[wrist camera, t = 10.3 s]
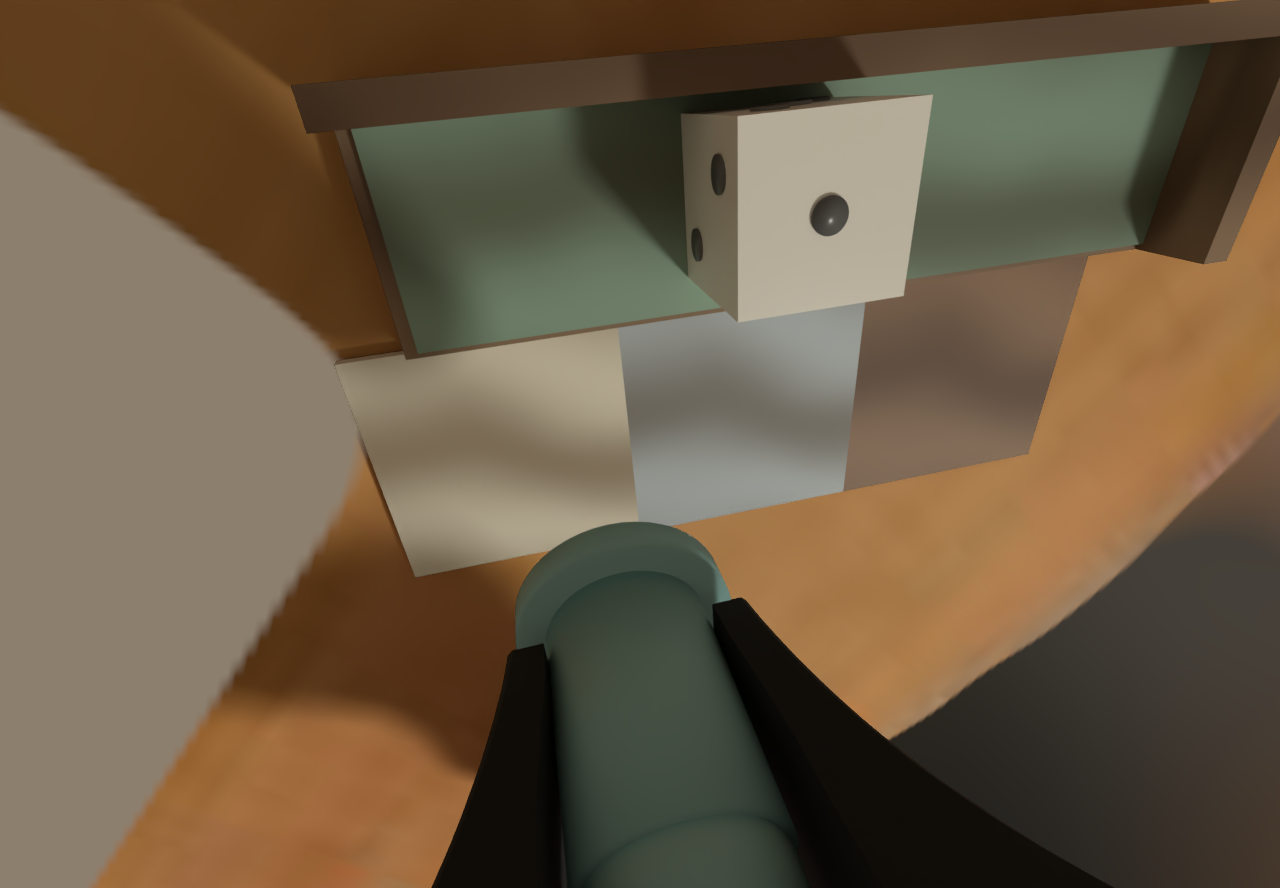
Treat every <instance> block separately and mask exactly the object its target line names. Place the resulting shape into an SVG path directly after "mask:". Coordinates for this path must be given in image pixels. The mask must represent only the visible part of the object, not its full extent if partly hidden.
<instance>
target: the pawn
mask: <svg viewBox="0 0 1280 888" xmlns="http://www.w3.org/2000/svg"><path fill="white" fill-rule="evenodd" d="M728 600H731V597H730V594H729V591H728V588H727V586H726V584H725V582H724V580H723V578H722V576H721V573H720V571H719V569H718V567H717V565H716V563H715V561H714V559H713V557H712V555H711V554H710V553H709V552H708V550H707V549H706V548H705V547H704V546H703V545H702V544H701V543H700V542H699V541H698V540H696V539H695V538H693V537H692V536H690V535H689V534H687V533H685V532H683V531H681V530H679V529H676V528H673V527H670V526H667V525H663V524H657V523H652V522H621V523H614V524H608V525H604V526H600V527H597V528H593V529H590V530H588V531H585V532H582V533H580V534H578V535H576V536H574V537H572V538H570V539H568V540H566V541H564V542H563V543H561V544H560V545H558V546H556V547H555V548H553V549H552V550H551V551H550V552H549V553H547V554H546V555H545V556H544V557H543V558H542V559H541V560H540V561H539V562H538V563H537V564H536V565H535V566H534V567H533V568H532V570H531V571H530V573H529V574H528V575H527V577H526V578H525V580H524V582H523V584H522V586H521V588H520V591H519V594H518V596H517V601H516V606H515V629H516V650H517V649H521V648H526V647H530V646H534V645H538V644H543V643H544V647H545V651H546V655H547V658H548V663H549V674H550V685H551V696H552V708H553V726H554V741H555V752H556V763H557V775H558V786H559V797H560V809H561V820H562V831H563V843H564V854H565V865H566V877H567V888H810V886H809V883H808V880H807V877H806V874H805V871H804V868H803V865H802V863H801V861H800V859H799V856H798V854H797V851H798V847H799V838H798V835H797V832H796V829H795V827H794V824H793V822H792V819H791V817H790V814H789V812H788V809H787V807H786V805H785V802H784V800H783V797H782V795H781V792H780V790H779V788H778V785H777V783H776V780H775V778H774V775H773V773H772V770H771V768H770V766H769V763H768V761H767V758H766V756H765V753H764V751H763V749H762V746H761V744H760V741H759V739H758V736H757V734H756V732H755V729H754V727H753V724H752V722H751V719H750V717H749V714H748V712H747V710H746V707H745V705H744V702H743V700H742V697H741V695H740V693H739V690H738V688H737V685H736V683H735V680H734V678H733V675H732V673H731V671H730V668H729V666H728V663H727V661H726V658H725V656H724V654H723V651H722V649H721V646H720V644H719V641H718V639H717V637H716V634H715V632H714V629H713V610H712V604H715V603H719V602H723V601H728Z"/></svg>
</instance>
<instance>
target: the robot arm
mask: <svg viewBox="0 0 1280 888" xmlns="http://www.w3.org/2000/svg"><path fill="white" fill-rule="evenodd" d="M712 610H713V629H714V632H715V634H716V637H717V639H718V641H719V644H720V646H721V649H722V651H723V654H724V656H725V658H726V661H727V663H728V666H729V668H730V671H731V673H732V675H733V678H734V680H735V683H736V685H737V688H738V690H739V693H740V695H741V697H742V700H743V702H744V705H745V707H746V710H747V712H748V714H749V717H750V719H751V722H752V724H753V727H754V729H755V732H756V734H757V736H758V739H759V741H760V744H761V746H762V749H763V751H764V753H765V756H766V758H767V761H768V763H769V766H770V768H771V770H772V773H773V775H774V778H775V780H776V783H777V785H778V788H779V790H780V792H781V795H782V797H783V800H784V802H785V805H786V807H787V809H788V812H789V814H790V817H791V819H792V822H793V824H794V827H795V829H796V832H797V835H798V838H799V847H798V851H797V854H798V856H799V859H800V861H801V863H802V865H803V868H804V871H805V874H806V877H807V880H808V883H809V886H810V888H1114V887H1112V886H1110V885H1108V884H1106V883H1105V882H1103V881H1101V880H1099V879H1097V878H1096V877H1094V876H1092V875H1090V874H1089V873H1087V872H1085V871H1083V870H1081V869H1080V868H1078V867H1076V866H1075V865H1073V864H1071V863H1069V862H1068V861H1066V860H1064V859H1062V858H1061V857H1059V856H1058V855H1056V854H1054V853H1052V852H1051V851H1049V850H1047V849H1046V848H1044V847H1042V846H1041V845H1039V844H1037V843H1036V842H1034V841H1033V840H1031V839H1029V838H1028V837H1026V836H1025V835H1023V834H1021V833H1020V832H1018V831H1017V830H1015V829H1013V828H1012V827H1010V826H1008V825H1007V824H1005V823H1004V822H1002V821H1000V820H999V819H998V818H996V817H995V816H993V815H992V814H990V813H989V812H987V811H986V810H984V809H983V808H981V807H980V806H978V805H977V804H975V803H974V802H972V801H971V800H969V799H968V798H966V797H965V796H964V795H962V794H960V793H959V792H958V791H956V790H955V789H953V788H952V787H950V786H949V785H947V784H946V783H944V782H943V781H941V780H940V779H939V778H937V777H936V776H935V775H933V774H932V773H930V772H929V771H928V770H926V769H925V768H924V767H922V766H921V765H920V764H918V763H917V762H916V761H914V760H913V759H912V758H910V757H909V756H908V755H907V754H905V753H904V752H903V751H901V750H900V749H899V748H898V747H896V746H895V745H894V744H892V743H891V742H890V741H889V740H887V739H886V738H885V737H884V736H883V735H881V734H880V733H879V732H878V731H876V730H875V729H874V728H873V727H872V726H870V725H869V724H868V723H867V722H866V721H865V720H863V719H862V718H861V717H860V716H859V715H858V714H857V713H855V712H854V711H853V710H852V709H851V708H850V707H849V706H848V705H846V704H845V703H844V702H843V701H842V700H841V699H840V698H839V697H837V696H836V695H835V694H834V693H833V692H832V691H831V690H830V689H829V688H828V687H827V686H826V685H825V684H824V683H823V682H822V681H820V680H819V679H818V678H817V677H816V676H815V675H814V674H813V673H812V672H811V671H810V670H809V669H808V668H807V667H806V666H805V665H804V664H803V663H802V662H801V661H800V660H799V659H798V658H797V657H796V656H795V655H794V654H793V653H792V652H791V651H790V650H789V649H788V647H787V646H786V645H785V644H784V643H783V642H782V641H781V640H780V639H779V638H778V637H777V636H776V635H775V634H774V632H773V631H772V630H771V629H770V628H769V627H768V626H767V625H766V623H765V622H764V621H763V620H762V619H761V618H760V617H759V615H758V614H757V613H756V612H755V611H754V610H753V608H752V607H751V606H750V605H749V603H748V602H747V601H746V600H744V599H743V598H736V599H732V600H728V601H723V602H719V603H715V604H712ZM432 888H567V877H566V865H565V854H564V843H563V831H562V820H561V809H560V797H559V786H558V775H557V763H556V752H555V741H554V726H553V708H552V696H551V685H550V674H549V663H548V658H547V655H546V651H545V647H544V643H543V644H538V645H534V646H530V647H526V648H521V649H517V650H513V651H512V652H511V653H510V654H509V655H508V657H507V664H506V670H505V675H504V680H503V685H502V689H501V694H500V698H499V702H498V706H497V709H496V713H495V717H494V721H493V724H492V727H491V731H490V734H489V737H488V741H487V744H486V747H485V750H484V754H483V757H482V760H481V763H480V766H479V769H478V772H477V775H476V778H475V780H474V783H473V786H472V789H471V791H470V794H469V797H468V800H467V802H466V805H465V808H464V811H463V813H462V816H461V819H460V821H459V824H458V826H457V829H456V831H455V834H454V836H453V839H452V841H451V844H450V846H449V849H448V851H447V853H446V856H445V858H444V860H443V863H442V865H441V867H440V870H439V872H438V874H437V876H436V879H435V881H434V883H433V885H432Z"/></svg>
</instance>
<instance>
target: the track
mask: <svg viewBox="0 0 1280 888" xmlns="http://www.w3.org/2000/svg"><path fill="white" fill-rule="evenodd" d="M1087 259H1088V256H1085V257H1078V258H1071V259H1065V260H1058V261H1052V262H1045V263H1039V264H1032V265H1026V266H1019V267H1013V268H1006V269H1000V270H993V271H986V272H980V273H973V274H967V275H960V276H954V277H947V278H941V279H934V280H928V281H921V282H914V283H908V284H905V289H904V296H901V297H895V298H888V299H882V300H876V301H870V302H863V303H857V304H851V305H845V306H838V307H832V308H826V309H820V310H813V311H807V312H801V313H795V314H788V315H782V316H776V317H770V318H763V319H757V320H751V321H745V322H737V321H736V320H735V319H733V318H732V317H731V316H730V315H729V314H728V313H727V312H726V311H725V312H718V313H712V314H705V315H699V316H692V317H686V318H679V319H672V320H666V321H659V322H653V323H646V324H640V325H633V326H627V327H620V328H614V329H607V330H601V331H594V332H587V333H581V334H574V335H568V336H561V337H555V338H548V339H542V340H535V341H529V342H522V343H516V344H509V345H502V346H496V347H489V348H483V349H476V350H470V351H463V352H457V353H450V354H444V355H437V356H430V357H424V358H417V359H411V360H406V359H405V356H404V352H403V351H399V352H392V353H386V354H379V355H373V356H366V357H359V358H353V359H346V360H339V361H336V363H335V364H334V366H335V369H336V371H337V374H338V377H339V379H340V382H341V384H342V387H343V389H344V392H345V395H346V397H347V400H348V403H349V405H350V408H351V411H352V413H353V416H354V418H355V421H356V424H357V426H358V429H359V431H360V434H361V437H362V439H363V442H364V445H365V447H366V450H367V452H368V455H369V458H370V460H371V463H372V465H373V468H374V471H375V473H376V476H377V479H378V481H379V484H380V486H381V489H382V492H383V494H384V497H385V499H386V502H387V505H388V507H389V510H390V513H391V515H392V518H393V520H394V523H395V526H396V528H397V531H398V533H399V536H400V539H401V541H402V544H403V547H404V549H405V552H406V554H407V557H408V560H409V562H410V565H411V568H412V570H413V573H414V575H415V578H416V577H420V576H425V575H430V574H435V573H440V572H445V571H450V570H455V569H460V568H465V567H470V566H475V565H480V564H485V563H490V562H495V561H500V560H505V559H510V558H515V557H520V556H525V555H530V554H535V553H539V552H544V551H549V550H552V549H553V548H555V547H556V546H558V545H560V544H561V543H563V542H564V541H566V540H568V539H570V538H572V537H574V536H576V535H578V534H580V533H582V532H585V531H588V530H590V529H593V528H597V527H600V526H604V525H608V524H614V523H621V522H652V523H657V524H663V525H667V526H673V525H678V524H683V523H688V522H693V521H698V520H703V519H708V518H713V517H718V516H723V515H728V514H733V513H738V512H743V511H748V510H753V509H758V508H763V507H768V506H773V505H777V504H782V503H787V502H792V501H797V500H802V499H807V498H812V497H817V496H822V495H827V494H832V493H837V492H842V491H847V490H852V489H857V488H862V487H867V486H872V485H877V484H882V483H887V482H892V481H896V480H901V479H906V478H911V477H916V476H921V475H926V474H931V473H936V472H941V471H946V470H951V469H956V468H961V467H966V466H971V465H976V464H981V463H986V462H991V461H996V460H1001V459H1006V458H1011V457H1015V456H1020V455H1025V454H1028V452H1029V449H1030V446H1031V442H1032V439H1033V436H1034V432H1035V429H1036V426H1037V423H1038V419H1039V416H1040V413H1041V410H1042V406H1043V403H1044V400H1045V396H1046V393H1047V390H1048V387H1049V383H1050V380H1051V377H1052V373H1053V370H1054V367H1055V364H1056V360H1057V357H1058V354H1059V350H1060V347H1061V344H1062V341H1063V337H1064V334H1065V331H1066V328H1067V324H1068V321H1069V318H1070V314H1071V311H1072V308H1073V305H1074V301H1075V298H1076V295H1077V291H1078V288H1079V285H1080V282H1081V278H1082V275H1083V272H1084V269H1085V265H1086V262H1087Z"/></svg>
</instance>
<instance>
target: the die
mask: <svg viewBox="0 0 1280 888" xmlns="http://www.w3.org/2000/svg"><path fill="white" fill-rule="evenodd" d="M932 99H933V94H931V95H889V96H846V97H831V96H819V97H808V98H799V99H795V101H785V102H777V103H772V104H763V105H754V106H745V107H736V108H727V109H717V110H708V111H699V112H690V113H681V129H682V151H683V173H684V195H685V217H686V239H687V261H688V278H689V279H691V280H692V281H693V282H694V283H695V284H696V285H697V286H698V287H699V288H700V289H702V290H703V291H704V292H705V293H706V294H707V295H708V296H709V297H710V298H711V299H713V300H714V301H715V302H716V303H717V304H718V305H719V306H720V307H721V308H722V309H724V310H725V311H726V312H727V313H728V314H729V315H730V316H731V317H732V318H733V319H735V320H736V321H737V322H745V321H751V320H757V319H763V318H770V317H776V316H782V315H788V314H795V313H801V312H807V311H813V310H820V309H826V308H832V307H838V306H845V305H851V304H857V303H863V302H870V301H876V300H882V299H888V298H895V297H901V296H904V289H905V283H906V276H907V269H908V262H909V255H910V248H911V242H912V235H913V228H914V221H915V214H916V208H917V201H918V194H919V187H920V180H921V174H922V167H923V160H924V153H925V146H926V140H927V133H928V126H929V119H930V112H931V106H932Z"/></svg>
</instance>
